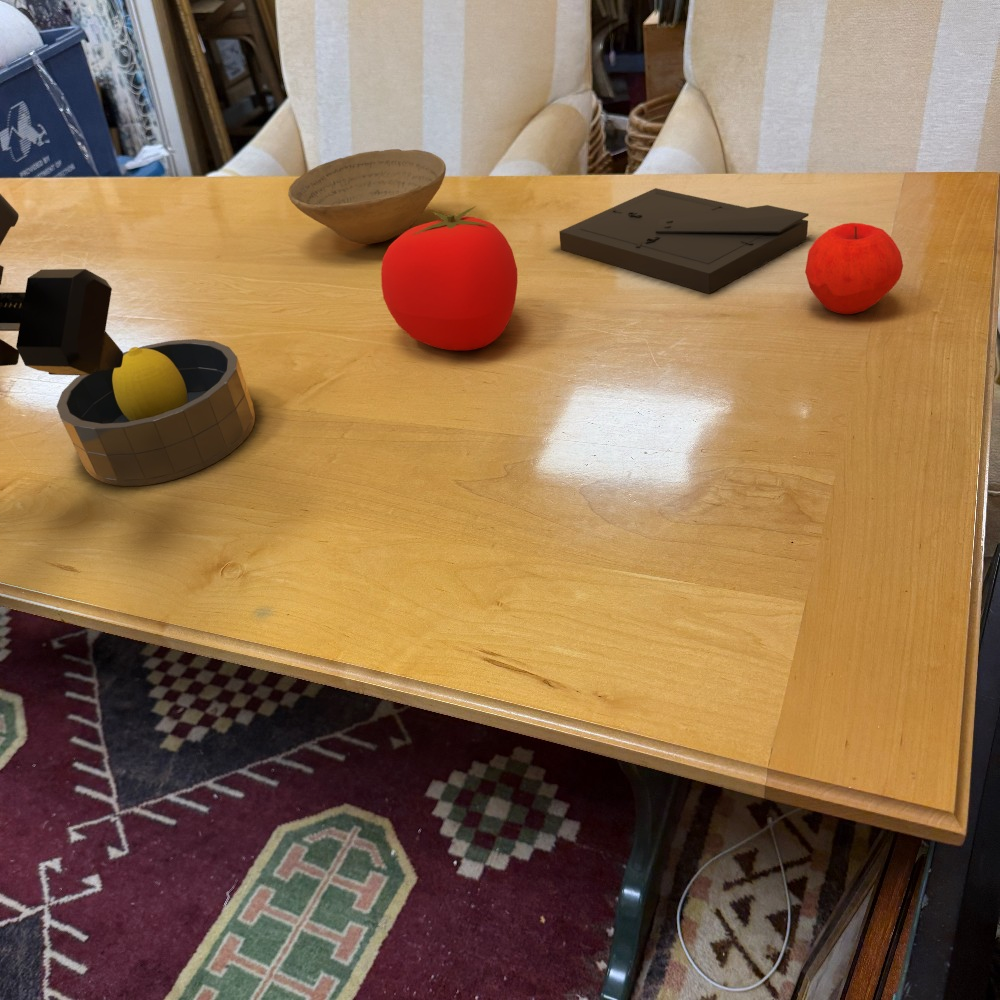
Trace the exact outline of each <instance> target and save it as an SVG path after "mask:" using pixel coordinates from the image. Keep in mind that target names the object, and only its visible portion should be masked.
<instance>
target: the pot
mask: <svg viewBox="0 0 1000 1000" xmlns="http://www.w3.org/2000/svg"><path fill="white" fill-rule="evenodd" d="M138 348H140V349H151V350H155V351H158V352H160V353H162V354H164V355H165V356H167V357H168V358H169V359H170V360H171V361H172V362H173V364H174V365H175V366H176V368H177V369H178V371H179V372H180V374H181V376H182V378H183V380H184V383H185V386H186V390H187V404H185V405H183V406H181V407H179V408H176V409H173V410H171V411H168V412H165V413H162V414H159V415H156V416H154V417H149V418H145V419H140V420H135V421H130V420H129V419H128V418H127V417H126V416H125V415H124V414H123V412H122V411H121V409H120V408H119V406H118V403H117V401H116V398H115V394H114V389H113V381H112V377H113V371H114V368H113V369H107V370H100V371H95V372H93V373H92V374H91V375H77V376H76V377H75V378H74V379H73V380H72V381H71V382H70V383H69V384H68V385H67V386H66V387H64V389H63V391H61V394H60V396H59V399H58V401H57V403H56V409H57V412H58V415H59V418H60V419H61V422H62V425H63V426H64V428H65V430H66V432H67V434H68V437H69V439H70V441H71V443H72V445H73V447H74V449H75V451H76V453H77V455H78V457H79V459H80V461H81V464H82V466H83V468H85V470H86V472H87V473H88V475H90V476H91V477H92V478H93V479H95V480H97V481H99V482H101V483H105V484H108V485H114V486H117V487H118V486H119V487H140V486H151V485H156V484H157V485H158V484H161V483H166V482H171V481H174V480H177V479H178V480H179V479H181V478H183V477H187V476H189V475H192V474H194V473H197V472H200V471H201V470H204V469H206V468H208V467H210V466H212V465H214V464H216V463H218V462H219V461H221V460H222V459H224V458H225V457H227V456H228V455H230V454H231V453H233V452H234V451H235V450H236V449H237V448H239V447H240V446H241V444H243V443H244V442H245V440H246V439H247V438H248V437H249V435H250V433H251V432H252V430H253V428H254V426H255V421H256V413H255V410H254V403H253V400H252V397H251V393H250V392H249V388H248V385H247V383H246V379H245V376H244V374H243V370H242V367H241V363H240V360H239V358H238V356H237V355H236V353H235V352H234V351H233V349H232V348H231V347H229V346H227V345H225V344H223V343H220V342H217V341H214V340H209V339H208V340H206V339H197V338H190V339H189V338H188V339H176V340H175V339H174V340H167V341H166V340H165V341H162V342H157V343H151V344H147V345H143V346H139V347H138ZM128 352H129V350H127V351H124V352H123V356H124V355H125V354H126V353H128Z"/></svg>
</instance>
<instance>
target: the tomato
mask: <svg viewBox="0 0 1000 1000" xmlns="http://www.w3.org/2000/svg"><path fill="white" fill-rule="evenodd" d="M476 207H477V206H476V205H474V206H473V207H471V208H469V209H466V210H464V211H462V212H460V213H458V214H456V215H454V214H453V213H450V214H448V215H446V214H443V213H439V212H435V211H432V214H434V215H435V216H437V217H439V218H440V219H438V220H434V221H429V222H425V223H422V224H418V225H416V226H413V227H411V228H408V229H407V230H406V231H404V232H403V233H401V234H400V235H398V237H397V238H396V239H395V240H394V241H393V242H392V243H390V245H389V246H388V247H387V250H386V251H385V253H384V255H383V258H382V263H381V268H380V269H381V270H380V277H381V278H380V279H381V283H380V284H381V292H382V296H383V297H382V298H383V300H384V303H385V305H386V307H387V310H388V312H389V313H390V315H391V317H392V318H393V319H394V321H395V323H396V324H397V326H398V327H399V328H401V329H402V331H403V332H405V333H406V334H407V335H408V336H410V338H412V339H413V340H416V341H418V342H420V343H423V344H425V345H428V346H430V347H434V348H437V349H441V350H446V351H456V352H459V351H472V350H478V349H481V348H485V347H487V346H488V345H490V344H491V343H493V342H494V341H496V340H497V339H498V338H499V337H500V336H501V335H502V334H503V332H504V331H505V329H506V327H507V326H508V323H509V322H510V320H511V317H512V315H513V311H514V308H515V304H516V296H517V290H518V267H517V263H516V259H515V256H514V252H513V248H512V247H511V245H510V243H509V241H508V240H507V238H506V237H505V235H504V234H503V232H502V231H500V230H499V228H498V227H497V226H496V225H495V224H493V223H492V222H490V221H488V220H484V219H481V218H478V217H474V216H466V215H467V214H468V213H469V212H471V211H472V210H474V209H475V208H476Z"/></svg>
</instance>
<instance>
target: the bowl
mask: <svg viewBox="0 0 1000 1000" xmlns="http://www.w3.org/2000/svg"><path fill="white" fill-rule="evenodd" d="M446 171H447V165H446V163H445V161H444V160H443V159H442V158H441V157H440V156H438V155H436V154H434V153H432V152H430V151H425V150H420V149H409V150H407V149H406V150H402V149H400V148H396V149H395V148H393V149H392V148H391V149H385V150H372V151H365V152H359V153H355V154H352V155H347V156H345V157H339V158H336V159H334V160H331V161H330V160H329V161H328V162H324V163H322V164H319V165H317V166H315V167H314V168H311V169H309V170H308V171H306V172H304V173H303V174H301V175H300V176H299V177H297V178H296V179H295V180H294V181H293V182H292V183H291V185H289V187H288V194H287V195H288V198H289V200H290V202H291V203H292V204H293V205H294V206H295V207H296V208H297V209H298V210H299V211H300V212H302V213H303V214H304V215H306V216H307V217H309V218H311V219H313V220H314V221H315V222H317V223H319V224H321V225H323V226H325V227H327V228H329V229H330V230H332V231H333V232H334V233H336V234H337V235H339V236H340V237H342V238H343V239H344V240H346V241H349V242H352V243H356V244H363V245H367V244H369V245H370V244H376V243H383V242H387V241H389V240H391V239H394V238H396V237H397V236H400V235H402V234H403V233H404V232H406V231H407V230H409V229H410V227H412V225H414V224H415V223H416V221H418V220H419V218H420V217H421V215H422V214H423V213H424V212H425V210H426V209H427V207H428V205H429V204H430V203H431V201H432V200H433V199H434V197H435V195H436V194H437V193H438V191H439V190H440V188H441V186H442V185H443V182H444V180H445V177H446Z"/></svg>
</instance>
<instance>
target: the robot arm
mask: <svg viewBox="0 0 1000 1000" xmlns="http://www.w3.org/2000/svg"><path fill="white" fill-rule="evenodd" d="M19 215H20V214H19V212H18V211H17V210H16V209H15V208H14V207H13V206H12V205H11V204H10V202H8V201H7V200H6V198H5V197H4V196H3V195H2V194H1V193H0V246H2V243H3V241H4V240H5V239H6V236H7V234H8V233H9V231H10V229H11V228H15V226H16V225H17V223H18V221H19ZM4 269H5V267H4V266H3V265H1V264H0V286H1V285H2V280H3V276H4V275H3V274H4ZM112 291H113V288H112V287H111V285H110V284H109V282H108V281H107V280H106V279H105V278H103V277H101V276H99V275H98V274H96V273H94V272H93V271H90V270H88V269H86V268H60V269H59V268H55V269H53V268H52V269H48V268H47V269H39V270H38V271H37V272H35V273H33V274H32V275H30V276H29V277H27V280H26V285H25V291H23V292H22V291H21V292H20V291H18V292H15V291H14V292H12V291H11V292H8V291H7V292H5V291H4V292H3V291H2V292H0V332H18V334H17V338H16V345H15V347H14V346H12V345H11V344H9V342H6V341H5V340H3V339H1V338H0V367H6V366H16V365H18V364H19V359H20V358H21V360H22V362H23V364H24V366H25V367H28V368H29V369H30V368H31V369H33V370H35V371H39V372H44V373H48V375H50V376H80V375H91V374H92V373H93V372H95V371H100V370H107V369H113V368H119V367H121V366H122V361H123V353H124V352H123V350H121V348H120V346H119V345H117V343H116V342H115V341H114V340H113V338H112V337H111V336H110V335H109V333H107V331H106V329H107V322H108V318H109V317H108V316H109V309H110V304H111V297H112Z"/></svg>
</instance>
